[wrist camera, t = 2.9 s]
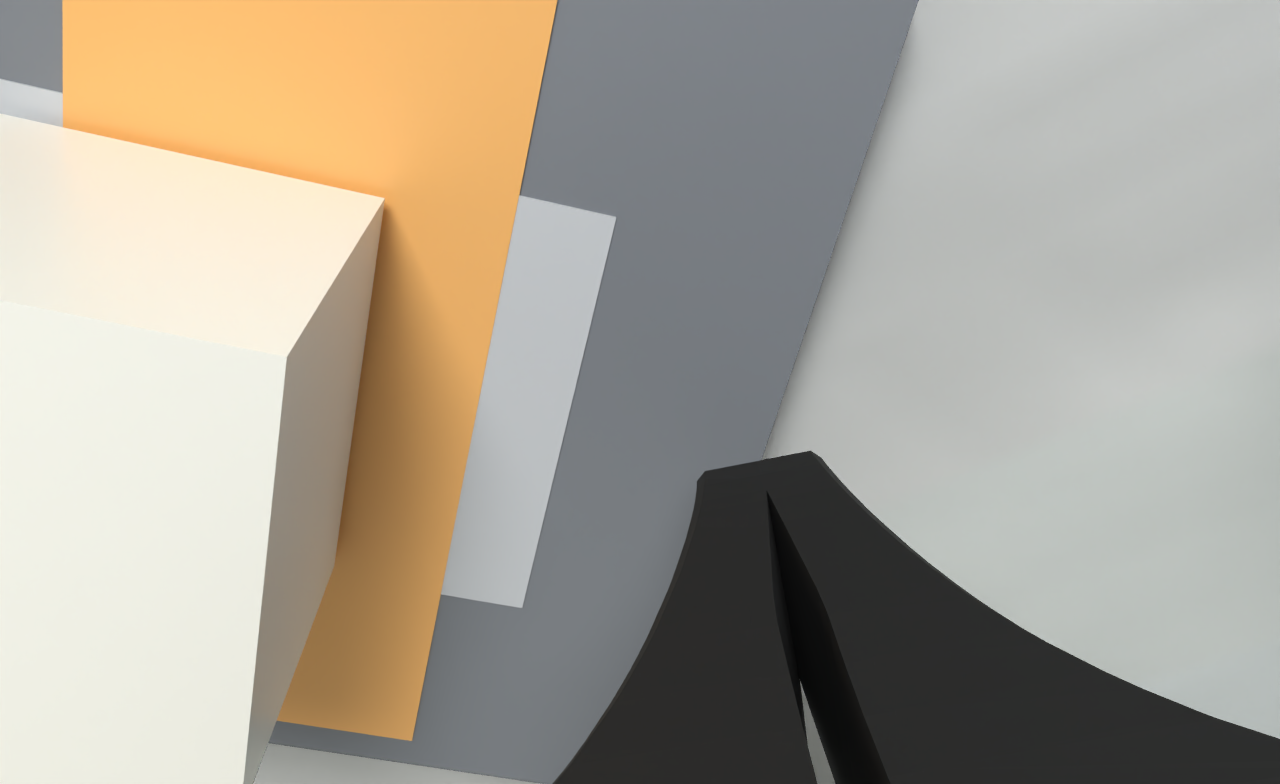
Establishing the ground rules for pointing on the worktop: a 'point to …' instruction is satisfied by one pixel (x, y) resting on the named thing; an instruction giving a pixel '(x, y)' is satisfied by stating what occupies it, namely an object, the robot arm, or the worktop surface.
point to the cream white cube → (166, 449)
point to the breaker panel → (512, 304)
